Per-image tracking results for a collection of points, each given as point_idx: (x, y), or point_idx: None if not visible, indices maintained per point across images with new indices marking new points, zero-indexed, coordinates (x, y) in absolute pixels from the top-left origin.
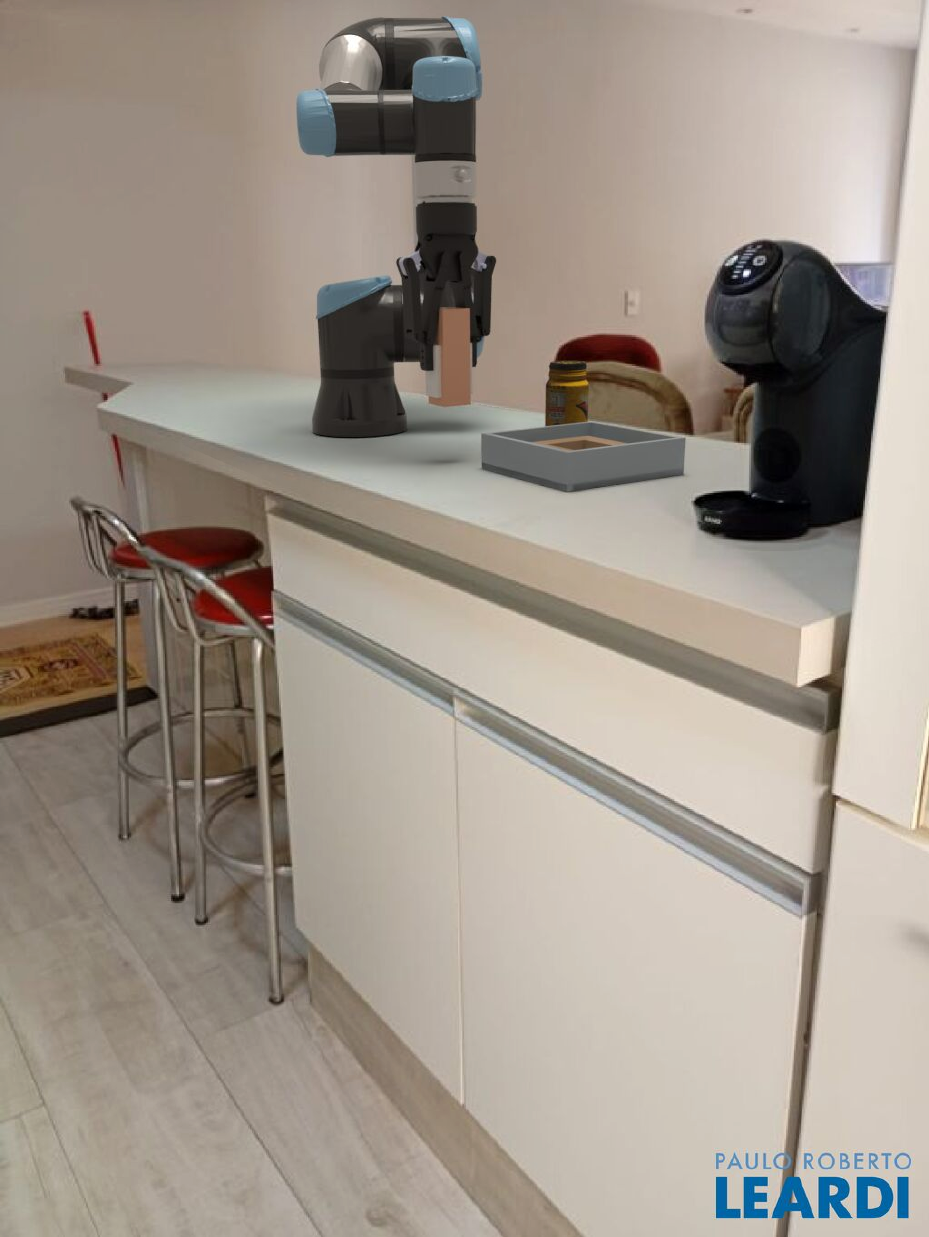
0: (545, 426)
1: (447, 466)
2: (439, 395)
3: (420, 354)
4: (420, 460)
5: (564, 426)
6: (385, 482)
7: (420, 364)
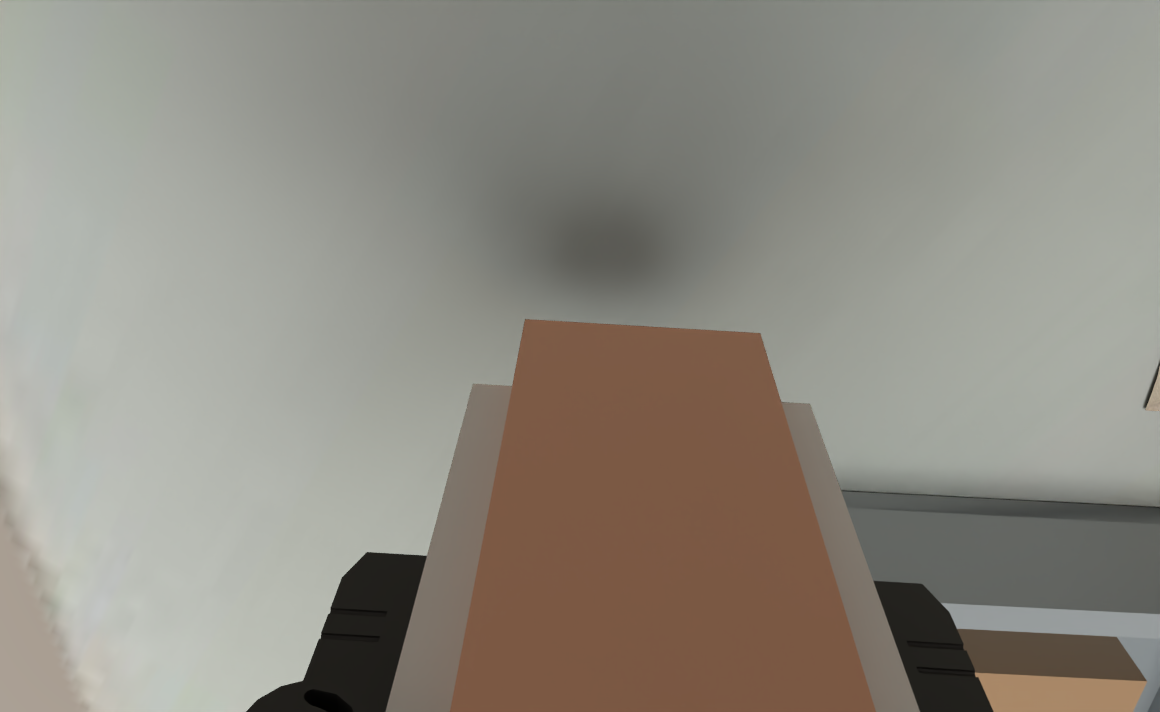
0: (1040, 611)
1: None
2: None
3: (311, 675)
4: (518, 130)
5: (1133, 633)
6: (138, 473)
7: (339, 593)
